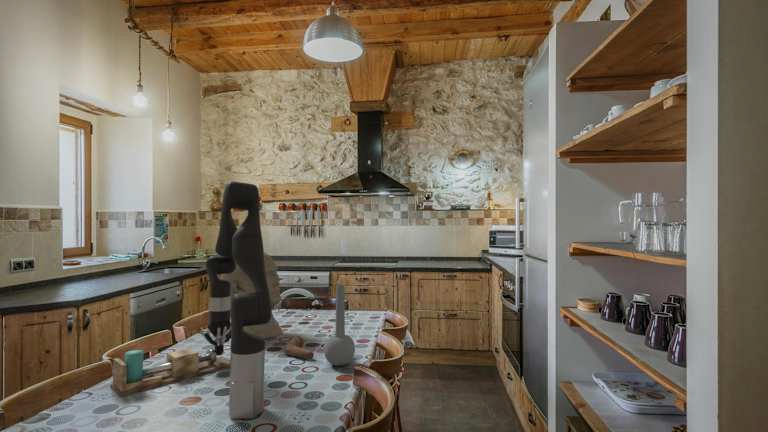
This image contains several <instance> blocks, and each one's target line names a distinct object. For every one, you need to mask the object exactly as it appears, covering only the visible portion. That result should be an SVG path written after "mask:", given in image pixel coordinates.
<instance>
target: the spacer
mask: <svg viewBox="0 0 768 432" xmlns="http://www.w3.org/2000/svg"><path fill="white" fill-rule="evenodd" d="M124 363H125V364H127V372H126V384H130V383H133V382H137V381H141V380H143V369H144V350H142V349H135V350H129V351H126V352H125V353H124Z"/></svg>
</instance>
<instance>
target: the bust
mask: <svg viewBox="0 0 768 432" xmlns="http://www.w3.org/2000/svg"><path fill="white" fill-rule="evenodd" d="M264 263H265V273H266V279H267V284H268V290H269V295H270V301H271V319H270V321H269V322H268V323H267V324H262V325H253V326H244V327H243V330H244V331H246V332H248V333H250V334H253V335H257V336H261V337H263V338H264V340H266V339H270V338H272V337H276V336H279V335H281V334H282V333H283V332H282V328H281V326H280V324H279V321H278V320H276V318H275V317H274V315H273V309H274V307H276V306H277V305H278V304H279V303H281V301H282V296H281V292H280V289H281V287H280V276H279V274H278V265H277V263H276V262H275V260H274V258H273V257H272V256H270V255H269V254H268V253H267V252H264ZM219 279H220V280H227V281H229V282H230V284H231V289H230V299H232V297H233V296H234V295H235V294H239V293H253V292H256V291H255V288H254V286H253V284H252V282H251V280H250V279H249V278H248V276H247V275H246V274H245V273H244V272H243V271H242V270H241V269H240V268H239V266H238V265H237V264H236V268H235V270H234V271H233V272H232V273H229V274H220V277H219Z"/></svg>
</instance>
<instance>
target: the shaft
mask: <svg viewBox="0 0 768 432" xmlns="http://www.w3.org/2000/svg"><path fill="white" fill-rule="evenodd" d="M216 357H217V355H216V352H215V348H214V349H213V348H212V349H208V350H207V351H206V353H205V354H202V355H199V358H198V363H201V362H205V361H207V362H208V364H212V363H215V362H216ZM169 370H172V362H171V363H167V364H166V363H164V364H163V363H162V364H160V365H155V366H150V367H146V368H143V377H144V376H148V375H152V374H156V373H161V372H165V371H169Z"/></svg>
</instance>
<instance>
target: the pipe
mask: <svg viewBox="0 0 768 432" xmlns="http://www.w3.org/2000/svg"><path fill="white" fill-rule="evenodd" d="M304 344H305V341H304V339H303V337H302V336H300V335H293V336H291V339H290V340H289V342H288V344H287V346H286V347H285V349H284V355H288V356H292V357H294V358H297V359H298V358H299V359H302V360H305V361H310V360H311V359H313V358H314V356H315V355H314V352H313V351H311V350H308V349H306V348H304Z"/></svg>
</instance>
